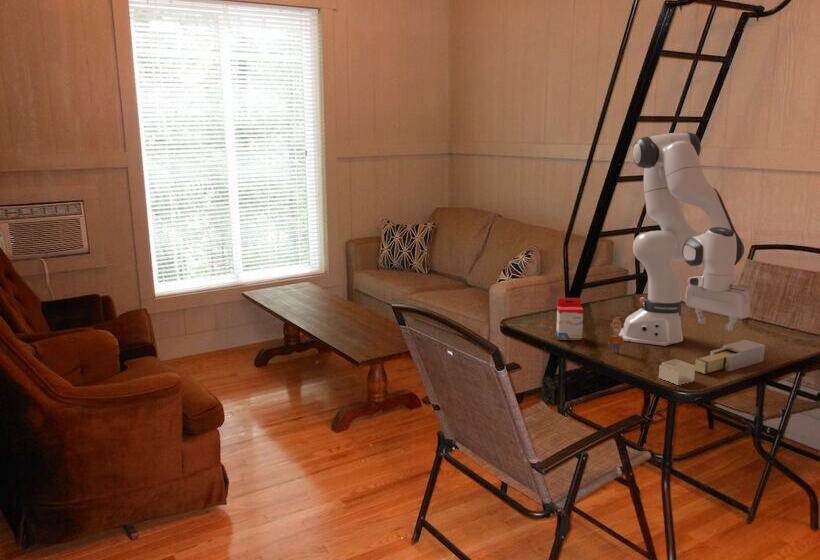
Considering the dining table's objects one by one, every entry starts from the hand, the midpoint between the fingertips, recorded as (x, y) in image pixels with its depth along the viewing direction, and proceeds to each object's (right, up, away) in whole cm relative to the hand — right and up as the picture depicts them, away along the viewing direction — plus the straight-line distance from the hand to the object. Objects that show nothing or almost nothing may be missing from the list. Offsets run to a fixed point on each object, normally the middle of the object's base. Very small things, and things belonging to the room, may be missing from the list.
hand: (715, 326), depth 204 cm
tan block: (+5, -13, +6) cm, 15 cm away
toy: (-24, -11, +22) cm, 34 cm away
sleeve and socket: (+1, -14, +4) cm, 14 cm away
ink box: (-36, -7, +37) cm, 52 cm away
